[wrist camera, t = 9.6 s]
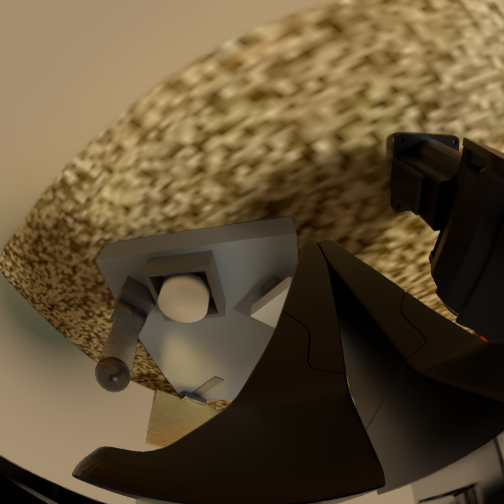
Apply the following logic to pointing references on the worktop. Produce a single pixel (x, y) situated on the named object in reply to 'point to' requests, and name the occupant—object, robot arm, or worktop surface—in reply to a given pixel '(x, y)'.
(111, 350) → the steel lever
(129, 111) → the worktop surface
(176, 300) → the push button
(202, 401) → the brass paddle
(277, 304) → the block
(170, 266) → the panel
